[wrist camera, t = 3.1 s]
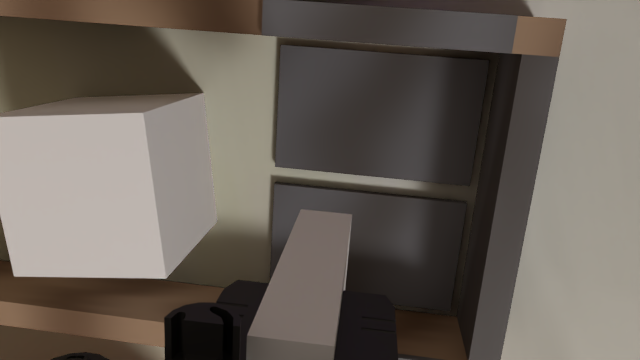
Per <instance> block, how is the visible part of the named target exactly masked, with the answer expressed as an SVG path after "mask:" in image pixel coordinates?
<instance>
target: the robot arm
mask: <svg viewBox="0 0 640 360" xmlns="http://www.w3.org/2000/svg"><path fill="white" fill-rule="evenodd" d="M351 221H352V214H344V213H334V212H324V211H314V210H304V209H301V210H300V213H299V215H298V217H297V220H296V222H295V224H294V227H293V229H292V231H291V234H290V236H289V238H288V241H287V243H286V245H285V248H284V250H283V252H282V255H281V257H280V259H279V262H278V264H277V266H276V269H275V271H274V273H273V276H272V278H271V280H270V283H269V284H268V283H260V282H251V281H242V280H237V281H236V282H234V283H233V284H231V285H229V286H228V287H226V288H225V289H223V291H222V293H221V294H220V296H219V298H218V299H217V301H216V303H214V302H198V303H193V304H187V305H184V306H181V307H179V308H177V309H174V310H172V311H171V312H170V313H169V314H168V315H167V316H165V317H164V335H165V360H398V348H397V334H396V318H395V307H394V306H393V304H392V303H391V302H390V301H389V299H388V298H387V297H386V295H380V294H371V293H362V292H353V291H345V286H346V275H347V265H348V254H349V243H350V232H351ZM51 360H109V359H107V358H105V357H103V356H101V355H100V354H93V353H87V352H84V353H72V354H67V355H63V356H60V357H57V358H53V359H51Z"/></svg>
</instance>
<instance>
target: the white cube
mask: <svg viewBox="0 0 640 360" xmlns="http://www.w3.org/2000/svg"><path fill="white" fill-rule="evenodd" d="M0 216H1V221H2V225H3V230H4V234H5V238H6V243H7V247H8V252H9V256H10V261H11V265H12V270H13V274H14V277H82V278H154V279H166V278H167V277H168V276H169V275H170V274H171V273H172V272H173V271H174V269H175V268H176V267H177V266H178V265H179V264H180V263H181V262H182V260H183V259H184V258H185V257H186V256H187V255H188V254H189V253H190V252H191V250H192V249H193V248H194V247H195V246H196V245H197V244H198V243H199V241H200V240H201V239H202V238H203V237H204V236H205V235H206V234H207V233H208V231H209V230H210V229H211V228H212V227H213V226H214V225H215V224H216V222H217V213H216V204H215V194H214V185H213V175H212V166H211V156H210V147H209V138H208V128H207V119H206V109H205V100H204V93H186V94H157V95H129V96H100V97H76V98H71V99H66V100H61V101H56V102H52V103H47V104H42V105H37V106H32V107H28V108H23V109H18V110H13V111H8V112H4V113H0Z"/></svg>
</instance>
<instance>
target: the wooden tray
mask: <svg viewBox="0 0 640 360" xmlns="http://www.w3.org/2000/svg"><path fill="white" fill-rule="evenodd" d="M0 16H10V17H23V18H37V19H50V20H64V21H77V22H91V23H105V24H118V25H132V26H145V27H159V28H173V29H186V30H200V31H213V32H227V33H240V34H254V35H265V36H279V37H292V38H306V39H319V40H333V41H346V42H360V43H374V44H387V45H401V46H414V47H428V48H441V49H455V50H469V51H482V52H496V53H499V59H498V65H497V71H496V78H495V84H494V90H493V96H492V102H491V109H490V115H489V121H488V127H487V133H486V139H485V146H484V152H483V158H482V164H481V170H480V176H479V183H478V189H477V195H476V201H475V207H474V213H473V220H472V226H471V232H470V238H469V244H468V250H467V257H466V263H465V269H464V275H463V281H462V287H461V294H460V300H459V306H458V312H457V317H456V316H447V315H439V314H431V313H423V312H415V311H407V310H399V309H395V318H396V334H397V348H398V360H500V359H501V354H502V349H503V344H504V339H505V334H506V329H507V323H508V318H509V313H510V308H511V303H512V298H513V292H514V287H515V282H516V277H517V272H518V267H519V262H520V256H521V251H522V246H523V241H524V236H525V231H526V226H527V220H528V215H529V210H530V205H531V200H532V195H533V190H534V184H535V179H536V174H537V169H538V164H539V159H540V154H541V148H542V143H543V138H544V133H545V128H546V123H547V117H548V112H549V107H550V102H551V97H552V92H553V87H554V81H555V76H556V71H557V66H558V61H559V56H560V51H561V45H562V40H563V35H564V30H565V25H566V20H567V19H557V18H542V17H527V16H518V15H504V14H489V13H474V12H459V11H444V10H429V9H414V8H399V7H384V6H369V5H353V4H338V3H323V2H308V1H293V0H0ZM488 66H489V60H478V59H465V58H452V57H439V56H425V55H412V54H399V53H385V52H372V51H359V50H346V49H332V48H319V47H306V46H292V45H281V50H280V72H279V94H278V116H277V138H276V160H275V167H283V168H293V169H303V170H313V171H323V172H333V173H343V174H354V175H364V176H374V177H384V178H394V179H404V180H414V181H424V182H435V183H445V184H455V185H465V186H470V181H471V175H472V168H473V162H474V155H475V149H476V143H477V136H478V130H479V124H480V117H481V111H482V105H483V98H484V92H485V86H486V79H487V73H488ZM466 206H467V203H466V202H465V201H455V200H445V199H435V198H426V197H416V196H406V195H396V194H386V193H376V192H367V191H357V190H347V189H337V188H327V187H318V186H308V185H298V184H288V183H278V182H276V183H275V184H274V204H273V226H272V248H271V270H270V280H271V278H272V276H273V273H274V271H275V269H276V266H277V264H278V262H279V259H280V257H281V255H282V252H283V250H284V248H285V245H286V243H287V241H288V238H289V236H290V234H291V231H292V229H293V227H294V224H295V222H296V220H297V217H298V215H299V213H300V210H301V209H304V210H314V211H324V212H334V213H344V214H352V221H351V232H350V243H349V254H348V265H347V275H346V286H345V291H353V292H362V293H371V294H380V295H386V297H387V298H388V299H389V301H390V302H391V303H392V304H395V305H403V306H411V307H419V308H427V309H436V310H444V311H450V308H451V302H452V295H453V289H454V283H455V276H456V270H457V263H458V257H459V251H460V244H461V238H462V232H463V225H464V219H465V213H466ZM223 289H225V288H221V287H213V286H204V285H196V284H188V283H180V282H172V281H164V280H156V279H148V278H82V277H14V274H13V270H12V265H11V262H10V261H2V260H0V325H6V326H13V327H20V328H28V329H35V330H42V331H50V332H57V333H64V334H72V335H79V336H86V337H94V338H101V339H108V340H115V341H123V342H130V343H137V344H145V345H152V346H159V347H165V335H164V317H165V316H167V315H168V314H169V313H170V312H171V311H172V310H174V309H177V308H179V307H181V306H184V305H187V304H193V303H198V302H214V303H216V301H217V299H218V298H219V296H220V294H221V293H222V291H223Z"/></svg>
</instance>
